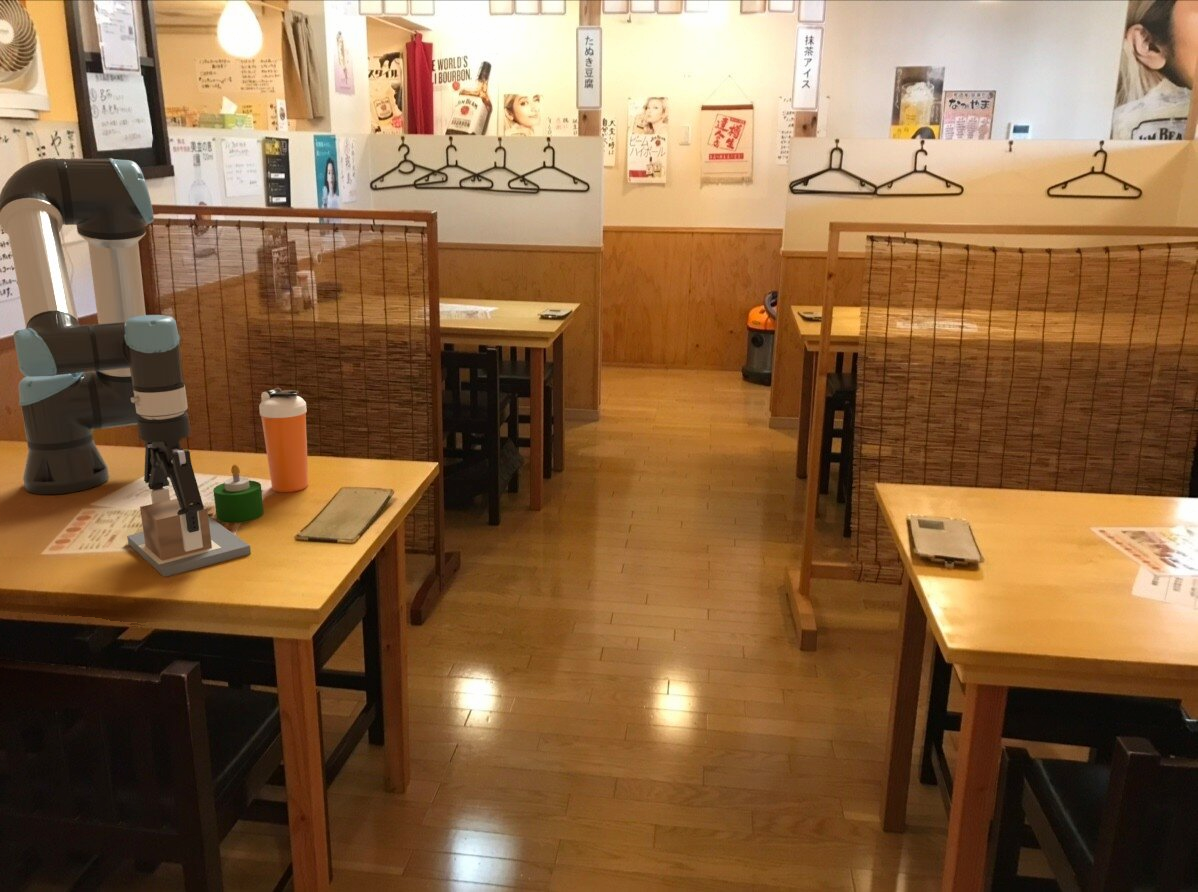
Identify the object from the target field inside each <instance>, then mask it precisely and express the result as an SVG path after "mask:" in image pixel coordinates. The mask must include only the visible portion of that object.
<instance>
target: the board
mask: <svg viewBox="0 0 1198 892" xmlns="http://www.w3.org/2000/svg"><path fill="white" fill-rule="evenodd" d="M208 519H209V527H210V535H211V543H212V548H209V549H205V550H202V551H198V552H194V553H190V554H186V555H182V556H178V557H174V558H171V559H167V560H163V561H162V560H161V559H160V558H158V557H157V556H156V555H155V554H154V553H153V552H152V551H150V550H149V549H148V548H147V547H146V546H145V539H144V532H143V531H142V532H138V533H133V534H129V535H127V544H128V546H130V547H131V548H132V549H133V550H134V551H135V552H136V553H138V554H139V555H140V556H141V557H142V559H144V560H145V561H147V563H148V564H149V565H151V566H152V567H153V568H154V569H155V570H156V571H157V572H158V573H159V574H161V575H162V577H164V578H166V577H169V576H175V575H177V574H180V573H185V572H188V571H192V570H196V569H200V568H204V567H207V566H210V565H215V564H217V563H221V562H222V563H223V562H225V561H229V560H232V559H237V558H240V557H244V556H248V555H250V554H252V553H251V545H250V544H248V543H247V542H246V541H244V540H243V539H242V538H240V537H238V536H237V535H236V534H234V532H232V531H230V530H229V529H227V528H226V527H225V526H223V525H222V524H220V522H219V521H216V520H215V519H214V518H212V517H211V516H208Z"/></svg>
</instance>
